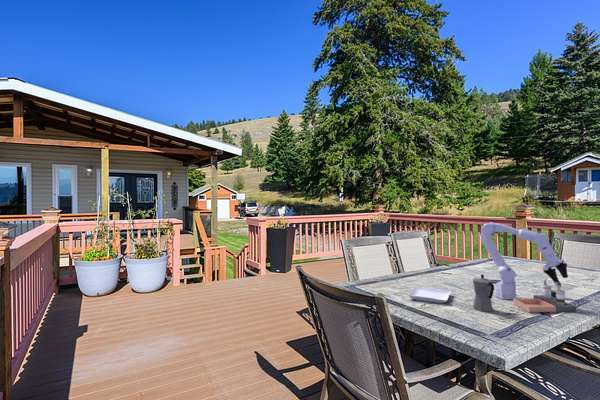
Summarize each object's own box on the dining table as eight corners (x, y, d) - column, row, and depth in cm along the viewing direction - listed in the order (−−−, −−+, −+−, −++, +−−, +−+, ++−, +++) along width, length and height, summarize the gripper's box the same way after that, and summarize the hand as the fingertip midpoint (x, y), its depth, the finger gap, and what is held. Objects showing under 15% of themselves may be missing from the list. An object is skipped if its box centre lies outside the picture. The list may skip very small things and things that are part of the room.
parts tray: (529, 312, 172) (529, 306, 172) (513, 304, 185) (513, 298, 185) (555, 312, 171) (555, 306, 171) (538, 303, 185) (538, 298, 185)
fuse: (546, 303, 185) (545, 286, 185) (541, 301, 189) (541, 285, 189) (553, 303, 185) (552, 286, 185) (548, 301, 189) (548, 285, 189)
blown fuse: (559, 309, 175) (559, 292, 175) (554, 307, 179) (554, 290, 179) (567, 309, 175) (566, 292, 175) (561, 307, 179) (561, 290, 179)
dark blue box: (559, 299, 192) (559, 279, 192) (542, 296, 198) (542, 277, 198) (562, 297, 195) (562, 278, 195) (546, 294, 201) (545, 275, 201)
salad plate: (452, 295, 204) (452, 290, 204) (447, 306, 186) (447, 299, 186) (415, 291, 215) (415, 285, 215) (407, 300, 196) (407, 294, 196)
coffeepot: (466, 305, 185) (466, 272, 185) (483, 304, 186) (482, 271, 186) (485, 315, 170) (484, 279, 169) (502, 314, 170) (502, 278, 170)
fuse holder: (559, 311, 172) (559, 306, 172) (533, 299, 192) (533, 295, 192) (576, 311, 172) (576, 306, 172) (548, 299, 192) (548, 295, 192)
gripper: (547, 257, 178) (559, 283, 175) (564, 250, 183) (577, 274, 180) (534, 259, 184) (546, 284, 181) (552, 252, 189) (564, 276, 186)
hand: (561, 279), depth 181 cm, fingers open, 7 cm apart
